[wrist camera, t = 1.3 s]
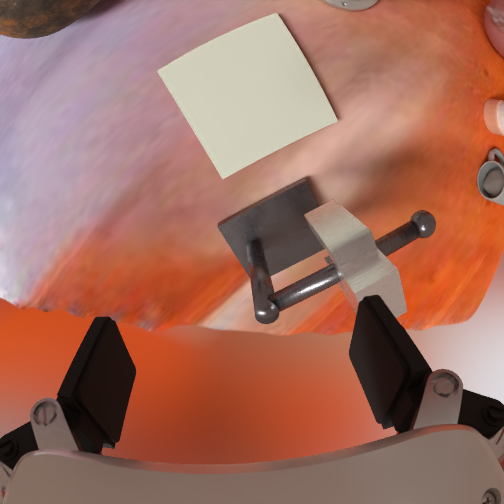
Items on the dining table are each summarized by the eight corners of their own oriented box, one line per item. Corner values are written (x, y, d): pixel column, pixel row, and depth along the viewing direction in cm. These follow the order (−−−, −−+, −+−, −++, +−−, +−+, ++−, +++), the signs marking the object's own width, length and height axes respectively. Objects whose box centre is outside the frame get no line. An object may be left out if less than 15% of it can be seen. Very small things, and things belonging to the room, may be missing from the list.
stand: (358, 150, 38) (430, 175, 23) (381, 213, 43) (446, 263, 27) (218, 223, 42) (211, 289, 26) (253, 279, 46) (265, 359, 31)
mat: (275, 15, 29) (276, 12, 28) (335, 120, 36) (338, 121, 35) (158, 72, 32) (157, 71, 31) (222, 177, 39) (222, 179, 38)
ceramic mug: (493, 200, 43) (517, 212, 36) (473, 193, 42) (499, 205, 35) (502, 154, 39) (528, 162, 32) (482, 142, 38) (510, 149, 31)
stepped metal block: (333, 199, 32) (393, 251, 19) (356, 255, 36) (409, 323, 23) (303, 214, 33) (347, 276, 20) (329, 270, 36) (372, 344, 24)
